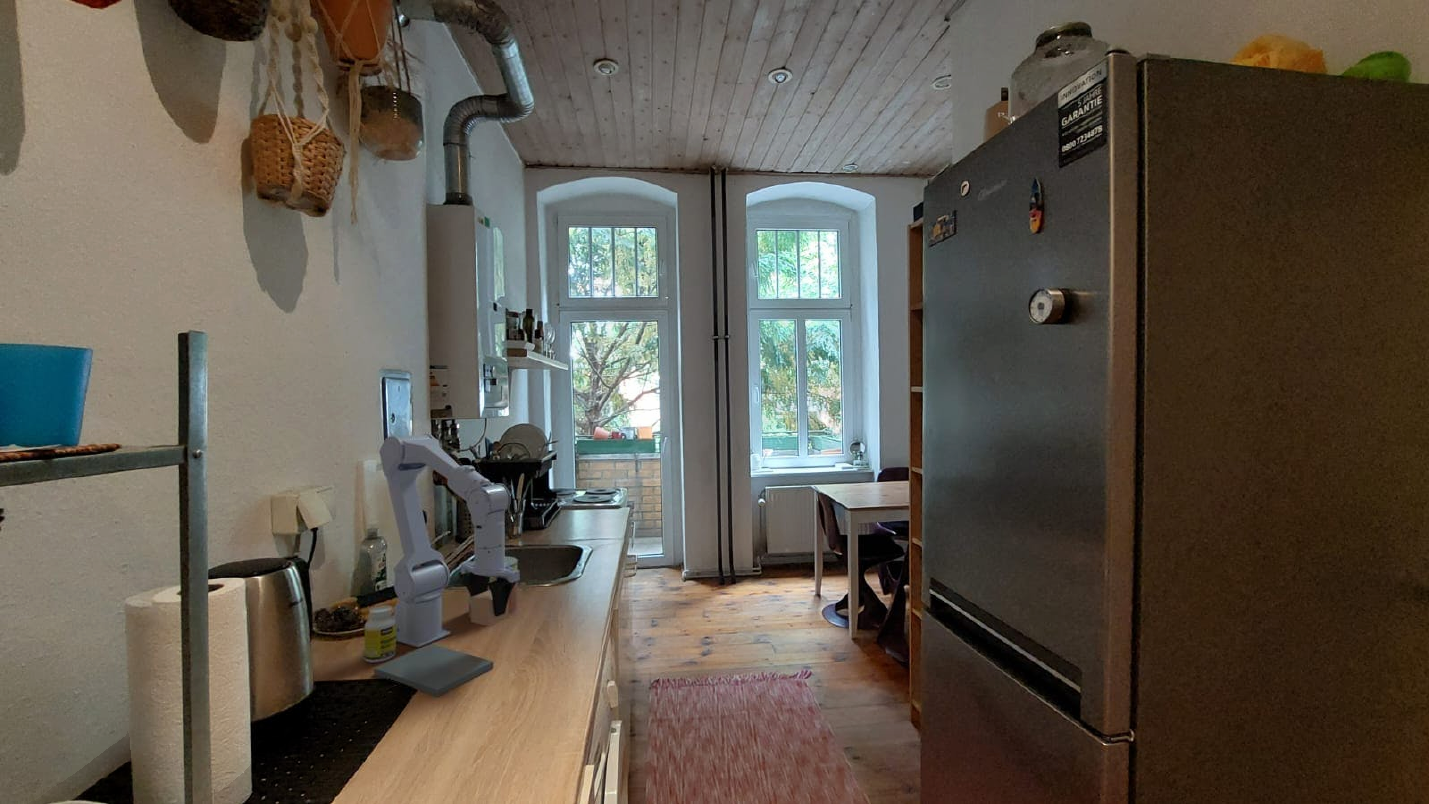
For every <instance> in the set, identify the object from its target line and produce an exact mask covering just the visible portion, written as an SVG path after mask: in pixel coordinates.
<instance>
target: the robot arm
mask: <svg viewBox="0 0 1429 804" xmlns="http://www.w3.org/2000/svg"><path fill="white" fill-rule="evenodd" d="M378 453H379V457H380V461H381V465H382V470H383V474H384V477H385V478H386V482H387V485H388V486H387V487H388V490H389V494H390V499H391V504H392V508H393V512H394V518H395V521H396V527H397V531H398V535H399V540H400V544H401V549H402V553H403V556H402V558H400V560H399V561H398V562H397V564H396V565H395V566H394V567H393V572H394V582H393V588H394V592H395V594H396V596H397V597H398V598H399V599H398V600H397V601H396V603H395V606H394V611H393V612H394V614H393V617H394V618H395V619H396V642H398V643H402V644H405V645H408V646H412V647H415V648H420V647H421V648H422V647H423V646H427V645H428V644H430V643H433V642H436V641H437V640H441V638H442V639H443V638H445V637H447V636H450V635H451V633H452V632H451V631H449V630H446V629H443V628H442V627H443V625H442V621H443V620H442V614H443V613H442V594H444V593H445V588H446V587H447V586H448V585H449V584H450V579H451V573H450V568H449V566H448V565H447V564H446V562H445V560H444V556H443V554H442V553H441V552H439V551H437V550H435V549H433V548H432V547H431V542H430V538H429V534H428V530H427V529H428V528H427V525H426V522H425V521H426V520H425V517H424V512H423V508H422V504H421V500H420V495H419V491H418V486H417V479H416V478H418V475H419V474H421V473H423V472H424V470H425V469H426V468H427V467H428V468H430V469H432V470H434V471H435V472H437V473H438V474H439V475H441V476H442V477H445V478H446V479H447V486H448V488H449V489H450V490H451V491H453V492H454V493H455V494H457V495H458V496H459V497H460V498H462V499H463V500H464V501H465V502H466V505H467V510H468V512H469V513H470V516H471V517H470V519H471V523H472V524H473V528H474V529H473V530H474V531H473V536H474V537H473V539H474V540H473V541H474V545H473V546H474V551H473V553H474V554H473V555H474V557H473V558H474V560H473V561H474V562H472V561H466V562H462V563H461V564H460V566H461V567H460V568H461V569H460V572H461V574H468V575H467V576H466V577H463V578H462V583H463V584H464V586H465V588H466V589H467V591H468V594H469V593H470V596H471V597H472V596H475V595H478V594H480V593H483V592H486V591H487V589H488V586H489V588H490V591H491V594H492V599H493V610H494V615H495V616H496V617H498V616H500V615H503V614H505V611H506V607H507V603H508V599H509V596H510V593H511V591H512V589H513V587H514V585H515V584H516V582H517V583H518V581H520V570H519V569H517V570H515V569H513V568H511V567H509V566H508V563H507V562H505V556H506V555H505V553H506V552H505V551H506V549H505V548H506V547H505V546H506V545H505V544H506V543H505V541H506V540H505V537H506V535H505V534H506V533H505V532H506V531H505V529H506V528H505V511H507V510H508V509H509V507H510V505H511V502H512V501H511V500H512V498H511V492H510V491H509V488H507V487H506V485H505V484H503V483H502V482H501V483H495V482H491V481H490V479H488V478H486V477H484V476H483V475H481V474H480V473H479V472H477V471H476V470H475V469H476V468H475V467H474V466H473V465H459V464H458V463H457V462H456V461H455V460H454V459H453V458H452V457H451V456H450V455H449V454H448V453H446V451H445V450H443V449H442V448H441V446H440V441H439V439H438V438H437V439H436V438H435V437H434V436H433V435H432V434H429V433H424V434H416V435H402V436H396V435H391V436H387V437H386V438H385V439H384V441H383V442H382V445H381V447H380V448H379V451H378ZM421 564H423V565H421ZM419 565H421V566H419ZM415 566H417V567H415ZM490 577H492V578H497V581H496V580H495V581H493V582H490V583H489V580H490Z"/></svg>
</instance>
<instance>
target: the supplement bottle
mask: <svg viewBox="0 0 1429 804" xmlns="http://www.w3.org/2000/svg"><path fill="white" fill-rule="evenodd" d="M392 615H393V607H392V605H386V604H385V605H379V606H375V607H371V608H370V609H369V611H368V618H369V619H368V620H367V621H366V623H365V624H364V661H365V662H367V663H371V664H372V663H373V664H375V663H382V662H386V661H388V660H391V659H392V658H393V657H395V656H396V654H397V641H396V619H395V618H394V616H392Z"/></svg>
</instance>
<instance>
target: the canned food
mask: <svg viewBox="0 0 1429 804" xmlns="http://www.w3.org/2000/svg"><path fill="white" fill-rule="evenodd" d="M518 561H519V560H518V559H517V558H516V557H514V556H507V555H505V562H507V563H508V566H509V567H511V568H513V569H515V570H518ZM471 562H474V560H473V561H471ZM495 580H496V581H497V578H492V577H490V580H489V583H490V582H493V581H495ZM488 590H490V588H489V586H488V589H487V591H488ZM518 595H519V594H518V581H517V582H516V584H515V585H514V587H513V589H512V591H511V593H510V596H509V617H510V616H512V615H514V614H515V613H517V612H518V610H519V603H518V601H519V599H518V598H519V597H518ZM513 613H514V614H513ZM468 618H470V619H471V596H470V593H469V592H468Z"/></svg>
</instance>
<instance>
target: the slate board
mask: <svg viewBox="0 0 1429 804" xmlns="http://www.w3.org/2000/svg"><path fill="white" fill-rule="evenodd" d="M492 669H494V661H493V660H490V659H486V658H484V657H483V658H482V657H479V656H476V655H472V654H469V653H464V652H462V651H458V650H456V649H455V650H454V649H451V648H448V647H443V646H440V645H438V644H434V643H431V644H430V643H429V645H428V644H427V645H425V646H424V647H423V646H422V647H421V648H419V649H415V650H414V651H412V652H409V653H407V654H404V655H402V656H400V657H397V658H395V659H393V660H390V661H387V662H385V663H383V664H380V665H378V666H376V667H374V668H373V675H374V676H378V677H380V678H384V679H385V678H388V679H391V680H394V681H397V682H400V683H403V684H406V685H408V686H411V687H413V688H412V689H414V688H415V689H414V690H417V691H420V692H423V693H426V694H428V695H431V696H433V697H440V696H441V695H444V694H445V693H447V692H449V691H451V690H454V689H455V688H457V687H460V686H462V685H463V684H465V683H467V682H468V681H471V680H472V679H474V678H476V677H479V676H481V675H482V674H484V673H487V672H488V671H490V670H492ZM388 679H387V680H388ZM391 680H390V681H391ZM394 681H393V682H394ZM397 682H396V683H397ZM400 683H399V684H400ZM408 686H407V687H408ZM411 687H410V688H411Z"/></svg>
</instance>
